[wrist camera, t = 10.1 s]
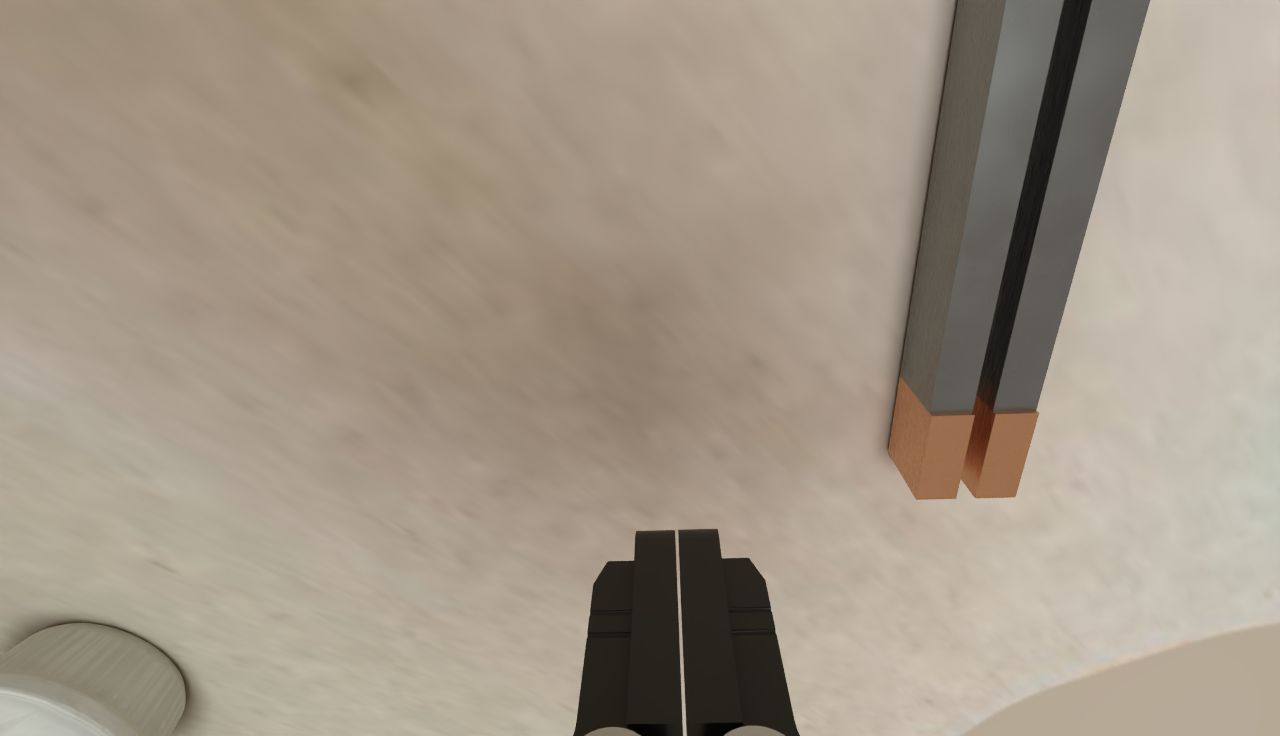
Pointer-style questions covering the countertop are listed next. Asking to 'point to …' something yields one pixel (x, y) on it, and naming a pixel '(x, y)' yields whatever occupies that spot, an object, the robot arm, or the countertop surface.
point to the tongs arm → (968, 230)
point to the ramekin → (88, 685)
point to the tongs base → (1049, 231)
